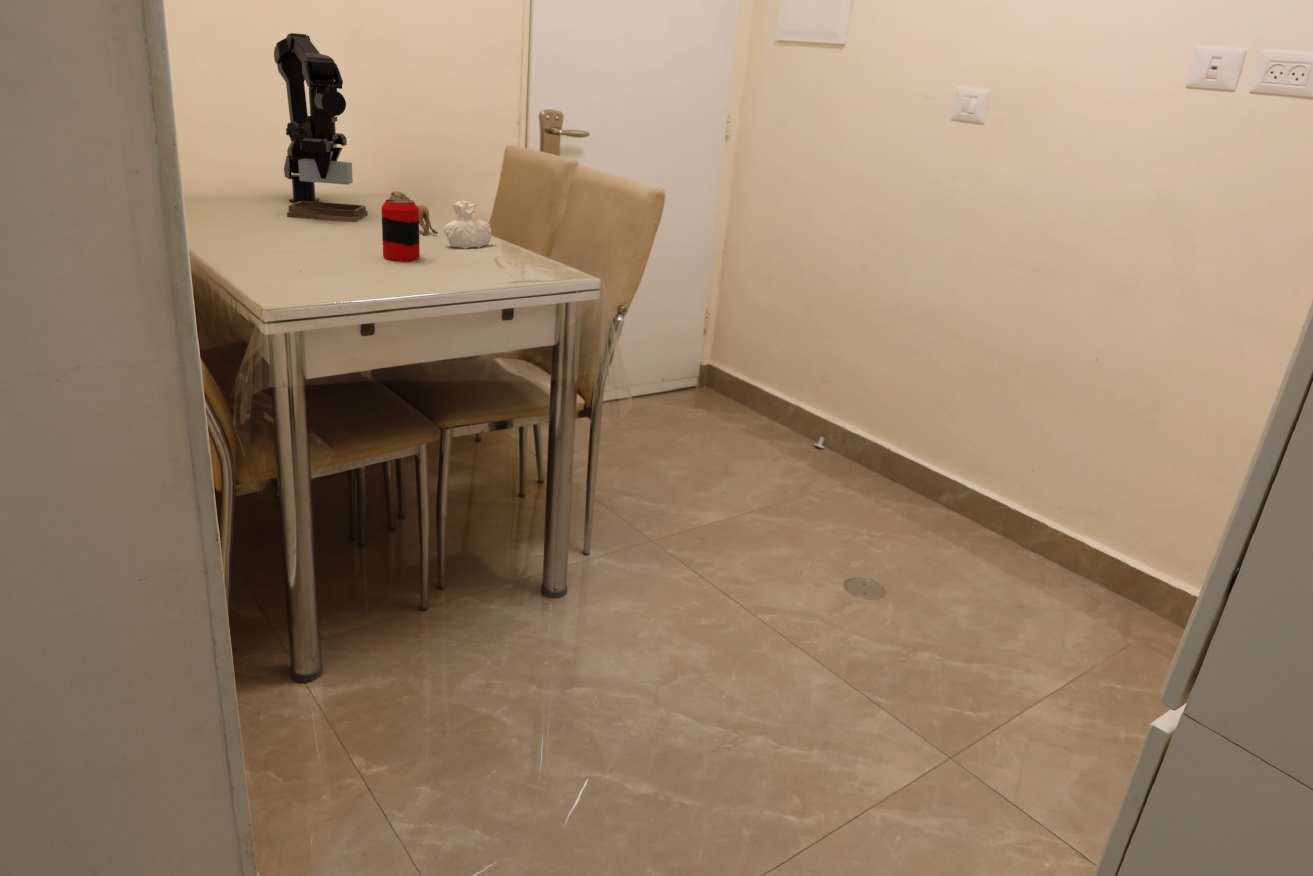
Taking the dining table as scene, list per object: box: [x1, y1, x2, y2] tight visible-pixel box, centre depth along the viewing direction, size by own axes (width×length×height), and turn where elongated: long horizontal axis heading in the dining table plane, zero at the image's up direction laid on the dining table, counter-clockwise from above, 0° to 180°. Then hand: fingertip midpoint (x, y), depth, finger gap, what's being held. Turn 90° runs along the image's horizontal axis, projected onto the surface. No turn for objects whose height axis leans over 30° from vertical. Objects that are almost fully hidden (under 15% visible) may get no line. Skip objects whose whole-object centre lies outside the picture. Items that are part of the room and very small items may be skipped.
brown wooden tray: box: [286, 201, 368, 223], centre depth 232 cm, size 11×17×2 cm, turn 92°
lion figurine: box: [388, 190, 439, 236], centre depth 221 cm, size 15×5×9 cm, turn 63°
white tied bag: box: [443, 199, 492, 250], centre depth 210 cm, size 12×8×11 cm
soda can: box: [380, 198, 421, 262], centre depth 192 cm, size 8×8×12 cm
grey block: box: [298, 159, 354, 186], centre depth 228 cm, size 4×12×5 cm, turn 92°
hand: (326, 177), depth 228 cm, fingers closed on grey block, 4 cm apart
